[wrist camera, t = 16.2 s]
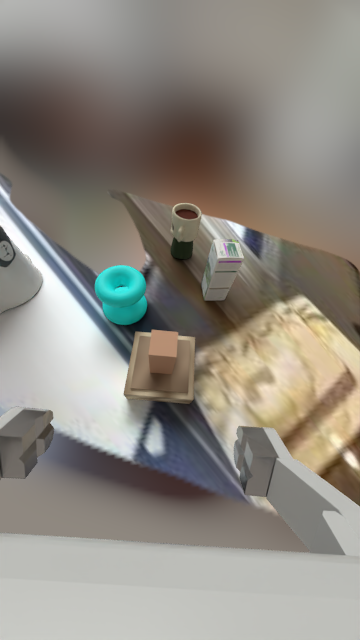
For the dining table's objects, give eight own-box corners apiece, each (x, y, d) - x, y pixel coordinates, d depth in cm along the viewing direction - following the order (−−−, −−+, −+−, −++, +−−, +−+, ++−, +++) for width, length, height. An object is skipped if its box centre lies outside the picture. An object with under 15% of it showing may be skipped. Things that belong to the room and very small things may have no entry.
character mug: (175, 238, 63) (179, 195, 52) (197, 245, 63) (206, 203, 52) (163, 262, 58) (165, 219, 46) (187, 269, 57) (195, 228, 46)
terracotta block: (149, 372, 37) (148, 354, 29) (152, 351, 39) (151, 329, 31) (171, 374, 37) (176, 357, 29) (173, 353, 39) (178, 332, 31)
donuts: (150, 267, 43) (138, 306, 38) (151, 296, 51) (141, 331, 46) (103, 258, 43) (84, 295, 38) (112, 288, 51) (97, 322, 46)
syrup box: (225, 300, 53) (246, 258, 41) (202, 301, 52) (217, 257, 40) (220, 283, 56) (239, 239, 43) (199, 283, 55) (212, 238, 43)
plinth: (126, 398, 39) (123, 393, 35) (137, 340, 45) (135, 330, 41) (189, 403, 40) (193, 399, 35) (191, 346, 46) (195, 336, 41)
